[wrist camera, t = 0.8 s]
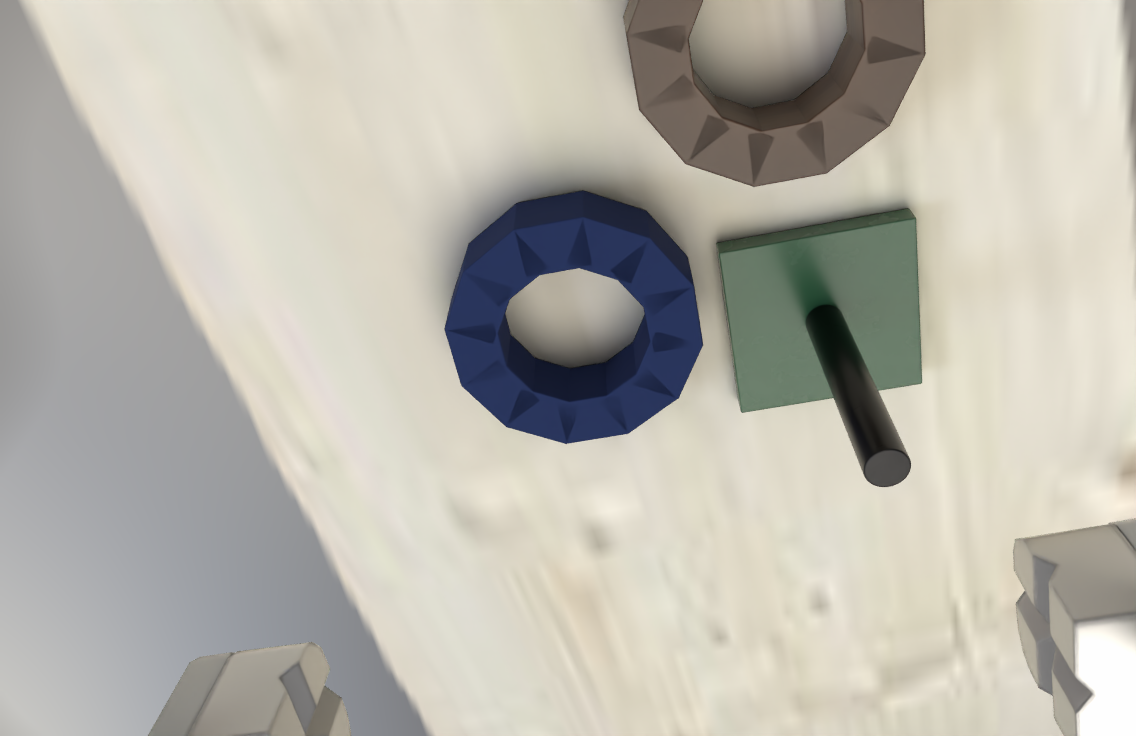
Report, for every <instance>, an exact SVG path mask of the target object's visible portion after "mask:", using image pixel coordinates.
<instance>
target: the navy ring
mask: <svg viewBox="0 0 1136 736" xmlns="http://www.w3.org/2000/svg"><path fill="white" fill-rule="evenodd" d="M576 268H581V269H584V270H587V271H591V272H594V273H597V274H600V275H603V276H607V277H610V278H613V279H616V280H618V281H619V282H620V283H621V284H622V285H623V286H624V287H625V288H626V289H627V290H628V291H629V292H630V293H631V294H632V295H633V297H634V298H635V299H636V300H637V301H638V302H639V303H640V304H641V305H642V306H643V307H644V312H645V315H644V317H643V320H642V322H641V324H640V327H639V329H638V331H637V334H636V336H635V339H634V341H633V342H632V343H631V344H630V345H628V346H627V347H626V348H624V349H623V350H622V351H620V352H619V353H618V354H616V355H615V356H614V357H612V358H611V359H610V360H608V361H607V362H606V363H600V364H594V365H588V366H582V367H576V368H567V367H563V366H560V365H556V364H553V363H549V362H546V361H543V360H539V359H536V358H534V357H533V356H532V355H531V354H530V353H529V352H528V351H527V350H526V349H525V348H524V347H523V346H522V345H521V344H520V343H519V342H518V341H517V340H516V339H515V338H514V337H513V336H511V334H510V330H509V326H508V322H507V319H506V315H505V312H506V309H507V306H508V303H509V300H510V299H511V298H512V297H513V296H514V295H515V294H517V293H518V292H519V291H520V290H522V289H523V288H524V287H525V286H527V285H528V284H529V283H530V282H532V281H533V280H534V279H535V278H537V277H538V276H539V275H543V274H548V273H554V272H559V271H565V270H571V269H576ZM445 332H446V336H447V339H448V342H449V346H450V349H451V352H452V356H453V359H454V362H455V366H456V369H457V373H458V376H459V379H460V383H461V385H462V387H463V388H464V389H466V390H467V391H468V392H469V393H470V394H471V395H472V396H473V397H474V398H475V399H476V400H478V401H479V402H480V403H481V404H482V405H483V406H484V407H485V408H486V409H487V410H488V411H490V412H491V413H492V414H493V415H494V416H495V417H496V418H497V419H498V420H499V421H500V422H502V423H503V424H504V425H505V426H506V427H508V428H512V429H515V430H519V431H523V432H526V433H530V434H533V435H537V436H540V437H544V438H547V439H551V440H555V441H558V442H562V443H565V444H567V443H574V442H580V441H586V440H592V439H598V438H604V437H611V436H617V435H623V434H628V433H630V432H631V431H633V430H634V429H635V428H637V427H638V426H640V425H641V424H643V423H644V422H645V421H647V420H648V419H650V418H651V417H652V416H654V415H655V414H657V413H658V412H659V411H661V410H662V409H664V408H665V407H666V406H668V405H669V404H671V403H672V402H674V401H675V400H676V399H678V398H679V396H680V394H681V392H682V390H683V387H684V385H685V383H686V381H687V379H688V377H689V374H690V372H691V370H692V368H693V366H694V364H695V361H696V359H697V357H698V355H699V353H700V350H701V348H702V346H703V340H702V334H701V328H700V321H699V315H698V309H697V302H696V296H695V289H694V284H693V279H692V275H691V270H690V265H689V261H688V257H687V256H686V254H685V253H684V252H683V251H682V250H681V249H680V248H679V247H678V246H677V244H676V243H675V242H674V241H673V240H672V239H671V238H670V237H669V236H668V234H667V233H666V232H665V231H664V230H663V229H662V228H661V227H660V226H659V224H658V223H657V222H656V221H655V220H654V219H653V218H652V217H651V216H650V214H649V213H648V212H647V211H645V210H642V209H639V208H636V207H633V206H630V205H627V204H623V203H620V202H617V201H614V200H611V199H608V198H605V197H602V196H599V195H595V194H592V193H589V192H586V191H578V192H573V193H568V194H562V195H557V196H552V197H546V198H541V199H536V200H531V201H525V202H520V203H516V204H515V205H514V206H513V207H512V208H510V209H509V210H508V211H507V212H506V213H504V214H503V215H502V216H501V217H500V218H499V219H497V220H496V221H495V222H494V223H493V224H491V225H490V226H489V227H488V228H487V229H486V230H484V231H483V232H482V233H481V234H480V235H478V236H477V237H476V238H475V239H474V240H473V241H471V242H470V243H469V245H468V248H467V251H466V254H465V257H464V261H463V264H462V267H461V270H460V273H459V277H458V280H457V283H456V286H455V289H454V292H453V296H452V299H451V303H450V308H449V312H448V316H447V321H446V325H445Z"/></svg>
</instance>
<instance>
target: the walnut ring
mask: <svg viewBox="0 0 1136 736" xmlns="http://www.w3.org/2000/svg"><path fill="white" fill-rule="evenodd" d="M702 2H703V0H629V2H628V5H627V8H626V11H625V14H624V16H623V18H624V24H625V30H626V36H627V42H628V48H629V54H630V60H631V66H632V71H633V77H634V83H635V89H636V95H637V101H638V107H639V110H640V112H641V113H642V114H643V115H644V116H645V117H646V119H647V120H648V121H649V122H650V123H651V124H652V126H653V127H654V128H655V129H656V130H657V131H658V133H659V134H660V135H661V136H662V137H663V138H664V140H665V141H666V142H667V143H668V144H669V145H670V146H671V148H672V149H673V150H674V151H675V152H676V153H677V155H678V156H679V157H680V158H681V159H682V160H683V162H684V163H685V164H687V165H690V166H693V167H696V168H699V169H702V170H705V171H708V172H711V173H714V174H717V175H720V176H723V177H726V178H729V179H732V180H735V181H738V182H741V183H744V184H747V185H750V186H753V187H756V186H761V185H766V184H772V183H777V182H783V181H788V180H793V179H799V178H804V177H810V176H815V175H820V174H826V173H828V172H829V171H830V170H832V169H833V168H834V167H836V166H837V165H838V164H840V163H841V162H842V161H844V160H845V159H846V158H847V157H849V156H850V155H851V154H853V153H854V152H855V151H857V150H858V149H859V148H861V147H862V146H863V145H865V144H866V143H867V142H869V141H870V140H871V139H873V138H874V137H875V136H877V135H878V134H879V133H881V132H882V131H883V130H885V129H886V128H887V127H889V126H890V124H891V122H892V120H893V118H894V116H895V114H896V112H897V110H898V108H899V106H900V104H901V102H902V100H903V98H904V96H905V94H906V92H907V90H908V88H909V86H910V84H911V82H912V80H913V78H914V76H915V74H916V72H917V70H918V68H919V66H920V64H921V62H922V60H923V58H924V56H925V54H926V53H925V25H924V0H845V6H846V21H847V33H846V35H845V37H844V39H843V42H842V44H841V46H840V48H839V50H838V53H837V55H836V57H835V59H834V61H833V63H832V66H831V68H830V70H829V72H828V73H827V74H826V75H825V76H824V77H822V78H821V79H820V80H819V81H817V82H816V83H815V84H813V85H812V86H811V87H810V88H808V89H807V90H806V91H805V92H803V93H802V94H801V95H800V96H798V97H797V98H796V99H795V100H792V101H787V102H781V103H776V104H771V105H766V106H761V107H756V108H749V107H746V106H743V105H741V104H738V103H735V102H732V101H729V100H726V99H723V98H720V97H717V96H714V95H713V94H712V92H711V91H710V90H709V89H708V87H707V86H706V85H705V84H704V83H703V81H702V80H701V79H700V78H699V76H698V75H697V74H696V73H695V72H694V70H693V67H692V60H691V53H690V46H689V39H688V38H689V36H690V33H691V31H692V28H693V25H694V23H695V20H696V18H697V15H698V12H699V10H700V7H701V5H702Z"/></svg>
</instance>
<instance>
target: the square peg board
mask: <svg viewBox="0 0 1136 736" xmlns="http://www.w3.org/2000/svg"><path fill="white" fill-rule="evenodd" d="M716 247H717V254H718V262H719V269H720V276H721V283H722V290H723V297H724V304H725V311H726V318H727V325H728V332H729V339H730V346H731V353H732V360H733V367H734V374H735V381H736V388H737V395H738V401H739V406H740V410H741V412H742V413H743V412H750V411H756V410H762V409H768V408H774V407H780V406H787V405H793V404H799V403H805V402H811V401H817V400H824V399H830V398H834V400H835V403H836V405H837V408H838V410H839V413H840V415H841V418H842V420H843V423H844V425H845V428H846V431H847V433H848V436H849V438H850V441H851V443H852V446H853V448H854V451H855V453H856V456H857V459H858V461H859V464H860V466H861V469H862V471H863V474H864V476H865V478H866V479H867V481H868V482H870V483H871V484H873V485H875V486H879V487H889V486H893V485H896V484H898V483H900V482H901V481H903V480H904V479H905V478H906V477H907V475H908V474H909V472H910V468H911V461H910V458H909V456H908V454H907V452H906V450H905V448H904V445H903V443H902V441H901V439H900V437H899V435H898V432H897V430H896V428H895V426H894V424H893V422H892V420H891V417H890V415H889V413H888V411H887V409H886V407H885V405H884V402H883V400H882V398H881V396H880V394H879V392H878V391H879V390H885V389H891V388H897V387H904V386H910V385H916V384H921V383H922V367H921V340H920V313H919V286H918V260H917V233H916V218H915V216H914V215H913V214H912V212H911V211H910V209H903V210H897V211H892V212H886V213H881V214H875V215H870V216H864V217H859V218H853V219H848V220H842V221H836V222H831V223H825V224H820V225H814V226H809V227H803V228H798V229H792V230H786V231H781V232H775V233H770V234H764V235H759V236H753V237H748V238H742V239H737V240H731V241H725V242H720V243H716Z"/></svg>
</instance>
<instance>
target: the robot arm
mask: <svg viewBox="0 0 1136 736" xmlns="http://www.w3.org/2000/svg"><path fill="white" fill-rule="evenodd" d="M1013 560H1014V571H1015V573H1016V575H1017V577H1018V578H1019V580H1020V582H1021V584H1022V586H1023V587H1024V589H1025V591H1024V593H1023V594H1022V595H1021V597H1020V598H1019V600H1018V601H1017V602H1016V612H1017V623H1018V631H1019V635H1020V640H1021V644H1022V649H1023V653H1024V656H1025V659H1026V661H1027V664H1028V667H1029V669H1030V672H1031V674H1032V676H1033V678H1034V680H1035V682H1036V684H1037V686H1038V688H1040V689H1042V690H1044V691H1045V692H1047V693H1049V694H1051V695H1052V696H1053V708H1054V718H1055V720H1056V722H1057V724H1058V726H1059V728H1060V730H1061V731H1062V733H1063V735H1064V736H1136V518H1134V519H1128V520H1123V521H1117V522H1112V523H1109V524H1108V525H1101V526H1095V527H1089V528H1082V529H1076V530H1070V531H1063V532H1057V533H1051V534H1044V535H1038V536H1031V537H1025V538H1019V539H1015V543H1014V549H1013ZM329 671H330V667H329V665H328V662H327V660H326V658H325V655H324V653H323V651H322V648H321V647H320V646H318V645H316V644H314V643H312V642H309V643H302V644H295V645H285V646H277V647H269V648H262V649H254V650H245V651H238V652H236V653H232V652H231V653H224V654H217V655H210V656H203V657H199V658H197V659H195V660H193V661H192V662H190V663H189V665H188V666H187V668H186V670H185V672H184V673H183V675H182V677H181V679H180V680H179V682H178V684H177V686H176V687H175V689H174V691H173V693H172V694H171V696H170V698H169V700H168V701H167V703H166V705H165V707H164V708H163V710H162V712H161V714H160V715H159V717H158V719H157V721H156V722H155V724H154V726H153V728H152V729H151V731H150V733H149V735H148V736H351V731H350V726H349V720H348V714H347V712H346V709H345V706H344V703H343V701H342V698H341V697H340V696H338V695H337V694H335V693H334V692H333V691H331V690H330V689H329V688H327V687H326V686H324V684H325V682H326V679H327V676H328V673H329Z"/></svg>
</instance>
